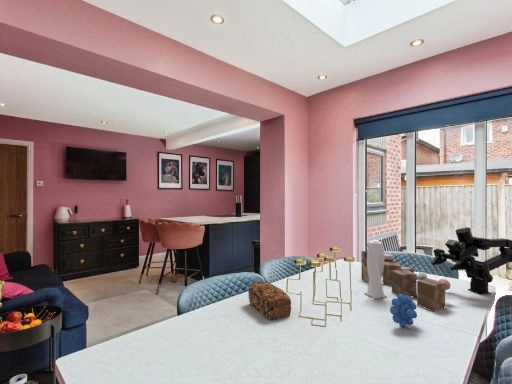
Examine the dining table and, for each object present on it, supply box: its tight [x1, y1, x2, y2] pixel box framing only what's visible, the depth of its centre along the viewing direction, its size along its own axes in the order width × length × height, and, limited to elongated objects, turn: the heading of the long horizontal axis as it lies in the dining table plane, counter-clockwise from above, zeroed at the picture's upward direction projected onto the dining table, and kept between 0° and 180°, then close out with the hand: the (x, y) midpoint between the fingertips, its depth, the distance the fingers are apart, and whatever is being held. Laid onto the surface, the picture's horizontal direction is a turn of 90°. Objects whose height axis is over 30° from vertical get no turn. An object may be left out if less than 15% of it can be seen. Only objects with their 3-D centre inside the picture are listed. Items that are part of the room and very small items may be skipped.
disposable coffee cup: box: [382, 252, 395, 276], centre depth 165 cm, size 10×10×12 cm
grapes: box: [389, 294, 418, 328], centre depth 98 cm, size 12×7×12 cm, turn 107°
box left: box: [382, 261, 402, 286], centre depth 148 cm, size 8×7×10 cm
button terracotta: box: [438, 278, 451, 291], centre depth 120 cm, size 8×5×5 cm, turn 117°
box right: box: [416, 277, 446, 312], centre depth 118 cm, size 8×7×10 cm
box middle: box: [391, 270, 418, 298], centre depth 132 cm, size 8×7×10 cm
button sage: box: [417, 271, 428, 281], centre depth 132 cm, size 8×5×5 cm, turn 95°
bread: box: [247, 280, 292, 321], centre depth 114 cm, size 19×11×10 cm, turn 27°
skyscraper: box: [364, 237, 388, 300], centre depth 129 cm, size 8×8×28 cm
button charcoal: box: [401, 265, 415, 273], centre depth 146 cm, size 8×5×5 cm, turn 71°
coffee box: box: [360, 250, 370, 284], centre depth 151 cm, size 9×6×16 cm
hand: (441, 266), depth 129 cm, fingers open, 9 cm apart
